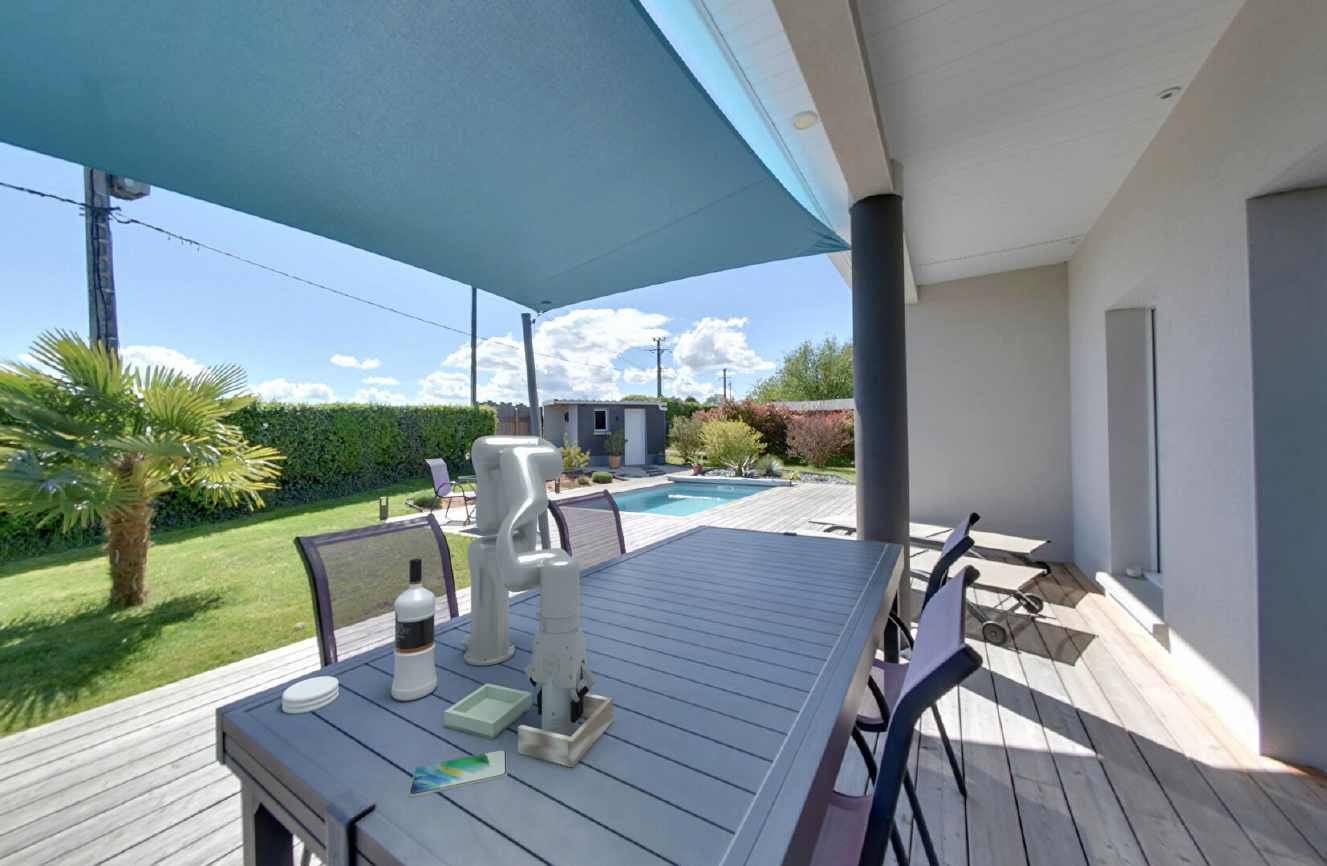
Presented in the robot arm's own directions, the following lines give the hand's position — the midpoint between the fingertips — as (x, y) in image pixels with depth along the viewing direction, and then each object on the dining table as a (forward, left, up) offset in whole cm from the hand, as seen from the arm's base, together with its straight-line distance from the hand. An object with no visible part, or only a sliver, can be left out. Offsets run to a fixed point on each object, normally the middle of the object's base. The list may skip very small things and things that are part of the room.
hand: (560, 714), depth 92 cm
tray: (-17, 0, -4) cm, 17 cm away
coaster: (-58, -9, -4) cm, 59 cm away
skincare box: (0, 0, -4) cm, 4 cm away
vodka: (-40, +2, -4) cm, 40 cm away
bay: (+2, 0, -4) cm, 4 cm away
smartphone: (-10, -15, -4) cm, 19 cm away
